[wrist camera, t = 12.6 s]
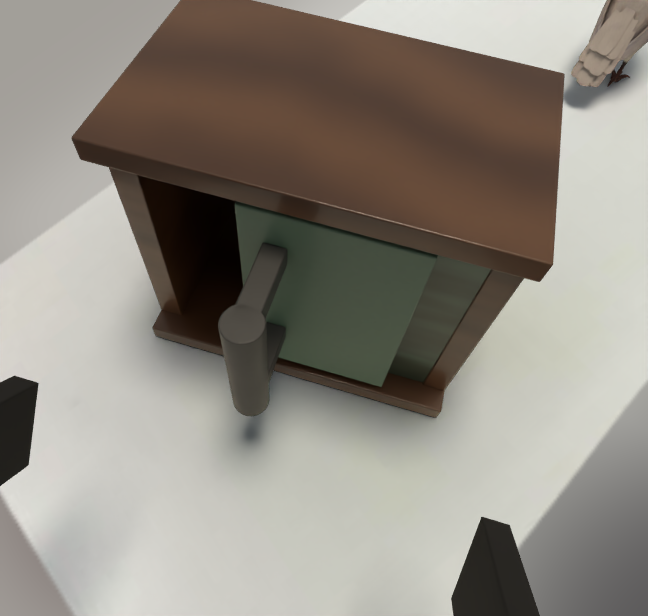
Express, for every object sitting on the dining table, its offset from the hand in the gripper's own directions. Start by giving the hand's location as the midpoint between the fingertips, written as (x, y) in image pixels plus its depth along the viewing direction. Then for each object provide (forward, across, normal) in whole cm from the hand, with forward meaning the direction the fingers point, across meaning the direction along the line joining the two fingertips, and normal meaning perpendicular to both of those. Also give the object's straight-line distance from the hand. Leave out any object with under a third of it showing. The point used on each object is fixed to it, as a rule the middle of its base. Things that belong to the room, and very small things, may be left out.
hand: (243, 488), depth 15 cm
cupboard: (+17, -1, +2) cm, 17 cm away
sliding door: (+12, 0, -2) cm, 12 cm away
